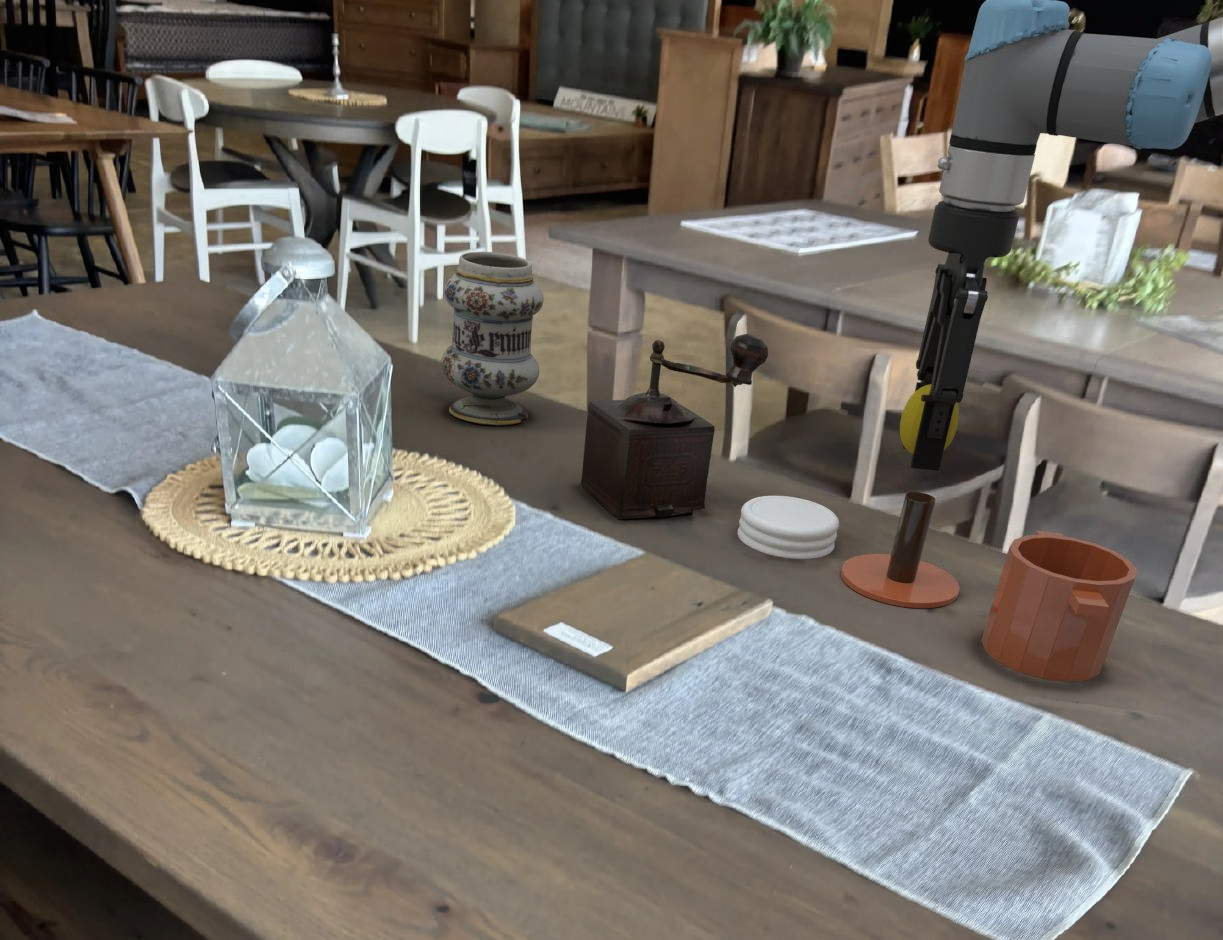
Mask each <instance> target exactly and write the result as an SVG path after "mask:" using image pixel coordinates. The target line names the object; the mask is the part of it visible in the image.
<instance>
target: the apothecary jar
mask: <svg viewBox="0 0 1223 940" xmlns="http://www.w3.org/2000/svg"><path fill="white" fill-rule="evenodd" d="M443 294H444V295H443V296H444V299H445V300H446V302H447V303H448V305H449V306H450V307H452V309H453V322H452V323H453V327H452V340H451V345H449V347H447V348H446V350H444V352H443V354H442V356H441V359H440V366H441V367H440V368H441V370H442V373H443V374H444V376H445V378H447V380H448V381H449V382H450V383H451V384H453V385H454V386H455V387H457V388H459V389H461V390H462V391H464V392H467V393H469V394H471V395H469V396H466V397H465V396H464V397H462V398H461V399H457V400H455V401H453V402H452V403H451V404H450V406H449V407H448V411H449V413H450V415H451V416H453V417H454V418H456V419H458V420H462V421H464V422H466V423H471V424H478V425H484V426H512V425H517V424H520V423H522V420H527V419H528V417H529V413H528V411H527V410H526V409H525V408H524V407H523V406H521V405H519V404H517V403H516V402H515V401H513V400H511V399H509V398H506V397H508V396H509V397H510V396H514V395H517V394H521V393H524V392H526V391H528V390H530V388H532V387H533V386H534V385H535V384H536V383H537V381H538V379H539V377H540V366H539V363H538V361H537V359H536V358H535V356H534V355H533V354H532V353H531V352H532V351H531V350H532V328H533V320H534V316H535V315H536V314H538V312H540V311H541V309H542V308H543V305H544V301H545V297H544V293H543V291H542V288H541V287H540V286H539V284H538V283H537V282H536V281H535V280H534V276H533V265H532V262H531V261H530V260H528V259H526V258H524V257H521V256H517V255H513V254H508V253H502V252H495V251H494V252H492V251H470V252H465V253H462V254H461V255H459V259H458V266H457V268H456V272H455V273H454V274H453V275H451V276H450V277H449V278H448V279H447V280H446V282H445V284H444V288H443Z"/></svg>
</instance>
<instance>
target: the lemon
mask: <svg viewBox="0 0 1223 940" xmlns="http://www.w3.org/2000/svg"><path fill="white" fill-rule="evenodd" d="M930 390H931V384H929V385H926V386H923V387H921V388H920V389H918V390H917V391H915V390H914V392H913V393H912V395H910V397H909V398H908V400H907V402H906V404H905V405H904V408H903V410H902V413H901V416H900V417H901V418H900V423H899V435H900V439H901V443H902V446H903V445H904V447H905V448H906V449H905V450H907V452H909V453H910V454H912V455H913V452H914V448H915V444H916V439H917V435H918V430H919V426H920V421H921V417H922V412H923V408H924V404H925V402H924V401H921V396H922V395H929V393H930ZM959 410H960V409H959V403H956V404H955V405H954V409H953V414H952V418H951V422H950V426H949V430H948V435H947V439H946V443H945V447H944V451H946V449H948V447H949V446H950V445H951V444H952V442H953V441H954V437H955V436H956V432H957V429H958V425H959V416H960V415H959V413H960V411H959Z"/></svg>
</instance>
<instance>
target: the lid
mask: <svg viewBox="0 0 1223 940" xmlns="http://www.w3.org/2000/svg"><path fill="white" fill-rule="evenodd" d="M936 501H937V500H936V497H934V496H933V495H931V494H928V493H925V492H919V491H909V492H907V493H906V494H905V495H904V500H903V504H902V509H901V512H900V516H899V521H898V524H897V527H896V532H895V537H894V541H893V545H892V549H891V554H889V553H888V554H887V553H868V554H860V555H857V556H854V557H850V558H849V559H847V560H845V562H843V564H842V566H841V570H840V576H841V579H842V581H843V582H844V584H846V586H847V587H849V588H850V589H851V590H852V591H855V592H856V593H858V594H860V595H862V596H864V597H866V598H869V599H871V600H874V601H876V602H880V603H882V604H886V605H892V606H896V607H903V608H909V609H935V608H942V607H945V606H948V605H950V604H952V603H954V602H955V601H956V600H957V599H958V597H959V594H960V590H961V587H960V583H959V582H958V580H957V579H956V578H955V577H954V576H953V575H952V574H951V573H950V572H948V571H946V570H944V569H943V568H940V567H939V566H936V565H934V564H932V563H929V562H926V561H924V560H922V555H923V552H924V548H925V544H926V539H927V536H928V531H929V528H930V524H931V520H932V517H933V513H934V509H935V505H936Z"/></svg>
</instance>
